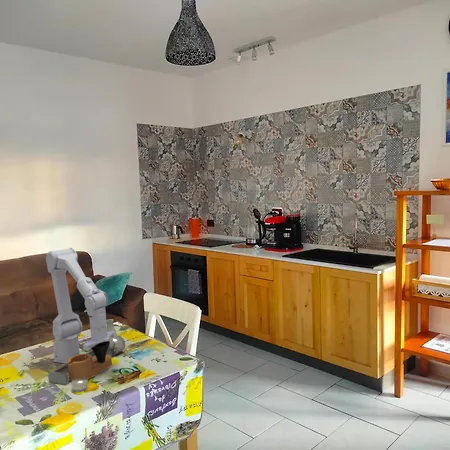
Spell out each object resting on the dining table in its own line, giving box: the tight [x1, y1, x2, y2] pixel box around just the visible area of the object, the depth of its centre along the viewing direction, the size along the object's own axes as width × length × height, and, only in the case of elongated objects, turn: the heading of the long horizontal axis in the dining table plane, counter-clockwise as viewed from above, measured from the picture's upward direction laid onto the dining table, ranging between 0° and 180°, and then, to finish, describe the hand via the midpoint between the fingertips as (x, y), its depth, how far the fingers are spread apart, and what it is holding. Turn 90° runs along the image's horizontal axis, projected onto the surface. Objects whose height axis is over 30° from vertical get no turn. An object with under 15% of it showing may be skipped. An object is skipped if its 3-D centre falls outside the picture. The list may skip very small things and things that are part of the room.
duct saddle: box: [47, 335, 126, 386], centre depth 154 cm, size 10×30×7 cm, turn 156°
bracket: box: [67, 353, 113, 382], centre depth 150 cm, size 18×8×7 cm, turn 155°
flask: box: [106, 318, 118, 339], centre depth 178 cm, size 7×7×10 cm
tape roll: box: [71, 377, 89, 393], centre depth 136 cm, size 5×5×3 cm
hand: (101, 362), depth 149 cm, fingers closed
